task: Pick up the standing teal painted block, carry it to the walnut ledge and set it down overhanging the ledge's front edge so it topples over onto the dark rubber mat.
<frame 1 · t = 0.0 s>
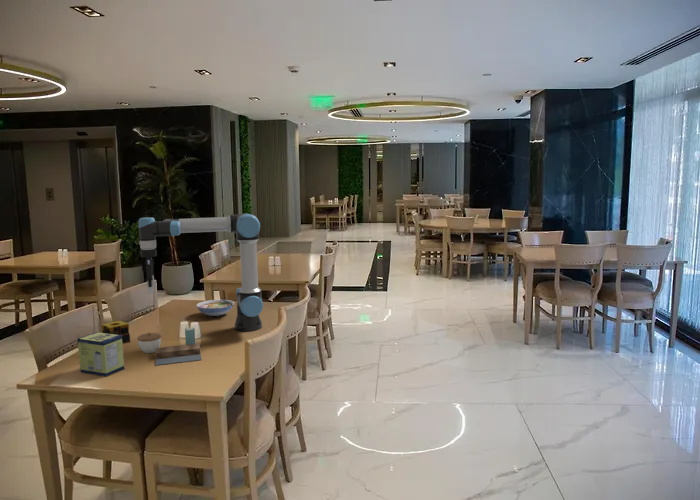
hand: (151, 290, 265), 28 cm above the table, fingers open, 13 cm apart
ledge: (178, 354, 252), on the table
ramen bowl: (216, 315, 325), on the table
protein box: (102, 371, 232), on the table
mat: (178, 360, 244), on the table
block: (190, 346, 264), on the table
lidded jar: (150, 351, 258), on the table
black yellow box: (116, 343, 273), on the table
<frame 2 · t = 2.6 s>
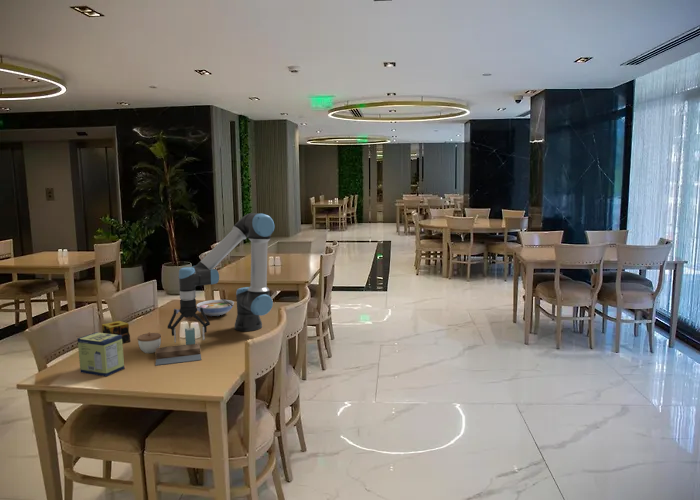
hand: (189, 340, 263), 3 cm above the table, fingers open, 13 cm apart
nothing on the table moved.
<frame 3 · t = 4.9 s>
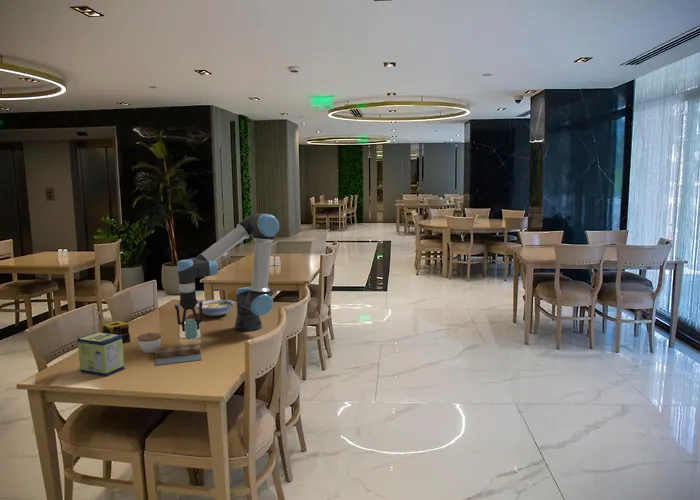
hand: (191, 336, 263), 5 cm above the table, fingers closed on block, 4 cm apart
block: (191, 337, 263), point 5 cm above the table, touching gripper
everything else where it was.
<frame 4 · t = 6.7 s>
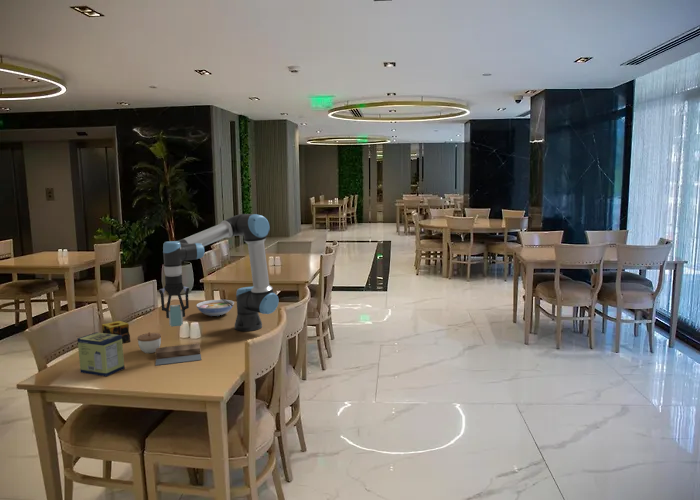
hand: (176, 324, 246), 16 cm above the table, fingers closed on block, 4 cm apart
block: (176, 324, 246), point 16 cm above the table, touching gripper
everything else where it was.
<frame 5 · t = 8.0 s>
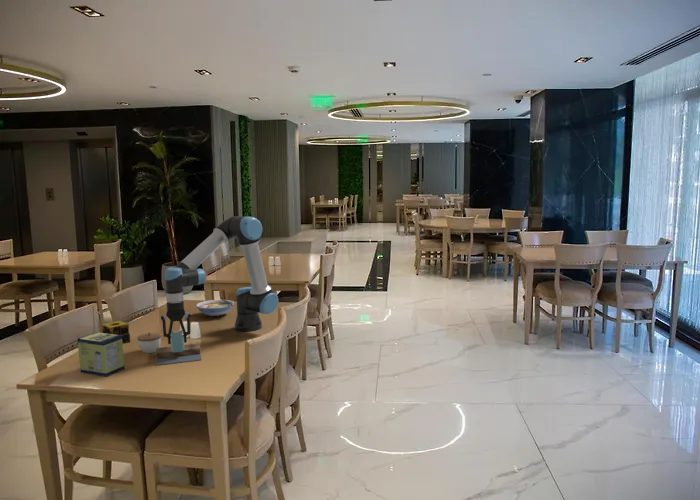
hand: (177, 349, 247), 4 cm above the table, fingers closed on block, 4 cm apart
block: (177, 350, 247), point 3 cm above the table, touching gripper
everything else where it was.
when the fingers open (3 cm above the table, at t = 8.7 s): block moves 1 cm and tips over, resting on mat.
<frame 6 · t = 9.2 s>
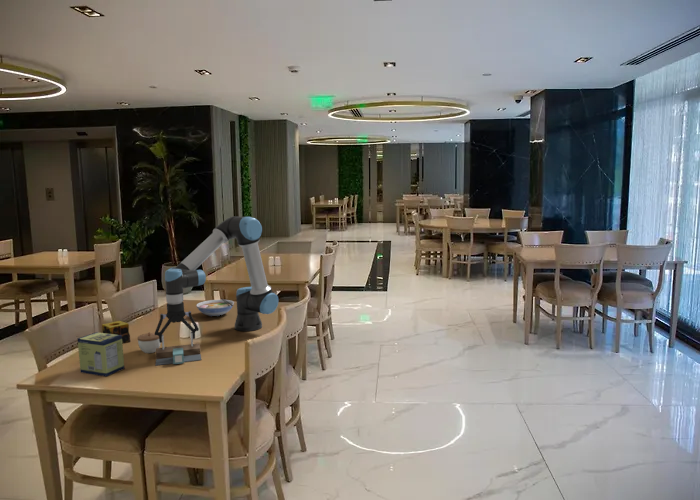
hand: (177, 347, 247), 5 cm above the table, fingers open, 12 cm apart
block: (178, 352, 246), point 3 cm above the table, tilted 90°, touching mat
everything else where it was.
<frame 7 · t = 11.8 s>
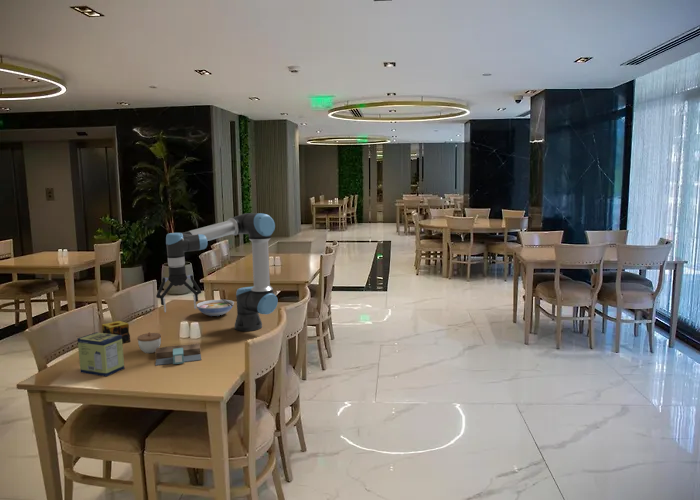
hand: (180, 310, 250), 22 cm above the table, fingers open, 13 cm apart
nothing on the table moved.
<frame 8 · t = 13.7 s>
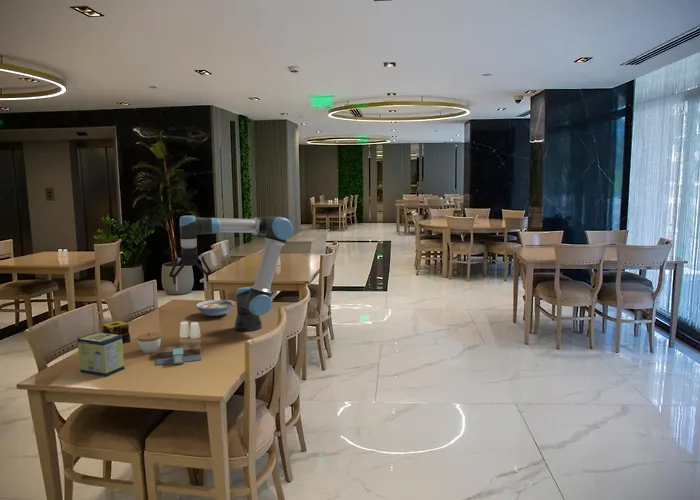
hand: (191, 289, 262), 29 cm above the table, fingers open, 13 cm apart
nothing on the table moved.
at the end: block tilted 90°; block inside the target area (6.3 cm from its centre), point 2.6 cm above the table; the gripper is holding nothing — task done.
